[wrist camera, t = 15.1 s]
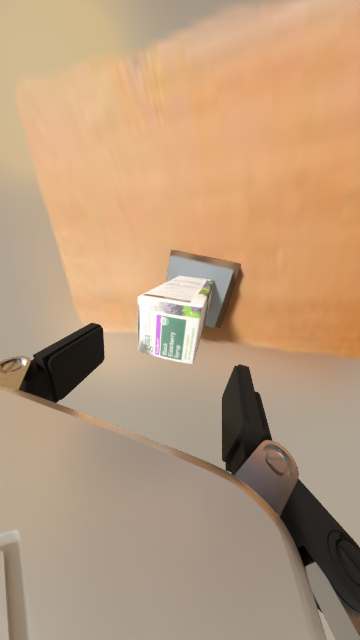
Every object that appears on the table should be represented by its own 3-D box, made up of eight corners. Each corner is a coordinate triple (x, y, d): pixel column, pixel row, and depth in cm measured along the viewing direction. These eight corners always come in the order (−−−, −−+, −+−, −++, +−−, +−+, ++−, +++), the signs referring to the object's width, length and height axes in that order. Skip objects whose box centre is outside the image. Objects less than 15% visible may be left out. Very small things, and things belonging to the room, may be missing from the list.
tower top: (232, 268, 26) (233, 271, 24) (214, 321, 31) (214, 328, 28) (175, 255, 28) (170, 255, 25) (165, 307, 32) (161, 313, 29)
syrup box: (208, 313, 27) (196, 368, 14) (174, 307, 28) (135, 354, 15) (214, 279, 25) (207, 307, 12) (177, 274, 26) (133, 295, 13)
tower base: (238, 263, 29) (241, 264, 26) (220, 321, 34) (220, 327, 31) (175, 250, 30) (170, 250, 27) (166, 308, 35) (162, 312, 33)
